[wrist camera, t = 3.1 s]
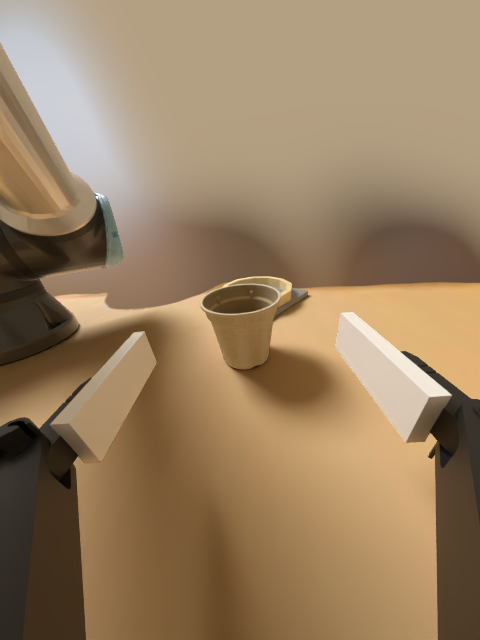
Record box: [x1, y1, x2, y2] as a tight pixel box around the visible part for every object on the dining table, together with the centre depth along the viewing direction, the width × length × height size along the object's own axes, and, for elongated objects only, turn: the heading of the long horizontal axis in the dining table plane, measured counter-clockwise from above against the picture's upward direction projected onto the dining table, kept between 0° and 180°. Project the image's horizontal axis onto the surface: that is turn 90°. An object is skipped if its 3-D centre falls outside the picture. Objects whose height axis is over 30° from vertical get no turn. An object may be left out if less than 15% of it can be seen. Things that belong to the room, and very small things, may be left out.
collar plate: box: [223, 276, 308, 317], centre depth 42 cm, size 16×16×3 cm
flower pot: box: [200, 284, 281, 369], centre depth 25 cm, size 9×9×9 cm
